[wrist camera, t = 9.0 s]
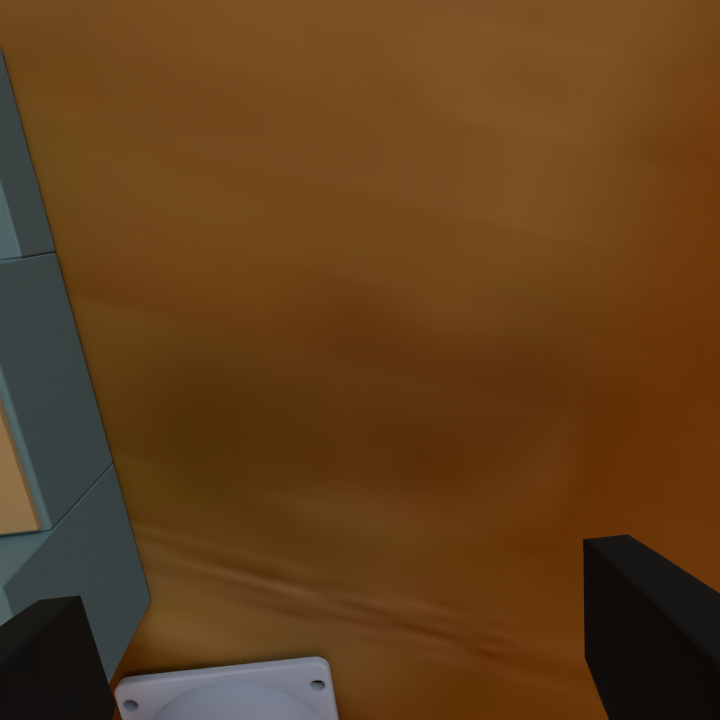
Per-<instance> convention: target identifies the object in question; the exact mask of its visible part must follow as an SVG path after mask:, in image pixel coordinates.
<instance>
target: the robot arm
mask: <svg viewBox="0 0 720 720" xmlns="http://www.w3.org/2000/svg"><path fill="white" fill-rule="evenodd" d="M583 552H584V634H585V659H586V662H587V664H588V667H589V669H590V672H591V675H592V677H593V680H594V683H595V685H596V688H597V690H598V693H599V696H600V698H601V701H602V703H603V706H604V708H605V711H606V713H607V716H608V718H609V720H720V593H718V592H717V591H715V590H713V589H712V588H710V587H709V586H707V585H706V584H704V583H703V582H701V581H700V580H698V579H696V578H695V577H693V576H692V575H690V574H689V573H687V572H686V571H684V570H683V569H681V568H680V567H678V566H677V565H675V564H673V563H672V562H670V561H669V560H667V559H666V558H664V557H663V556H661V555H660V554H658V553H656V552H655V551H653V550H652V549H650V548H649V547H647V546H645V545H644V544H642V543H641V542H639V541H637V540H636V539H634V538H632V537H631V536H629V535H619V536H610V537H601V538H591V539H583ZM315 680H320V681H322V682H320V683H318V682H314V681H315ZM114 692H115V698H116V701H117V704H118V708H119V711H120V714H121V717H122V720H339V717H338V711H337V705H336V699H335V694H334V688H333V682H332V676H331V671H330V665H329V663H328V661H326V660H325V659H324V658H322V657H315V656H314V657H305V658H296V659H287V660H277V661H268V662H259V663H250V664H240V665H231V666H222V667H213V668H204V669H194V670H185V671H176V672H167V673H157V674H148V675H139V676H130V677H125V678H123V679H121V680H120V681H119V683H118V685H117V687H116V689H115V691H114ZM130 700H132V701H134V702H132V701H130ZM115 707H116V706H115V702H114V699H113V696H112V693H111V690H110V687H109V684H108V680H107V677H106V674H105V671H104V668H103V665H102V662H101V658H100V655H99V652H98V649H97V646H96V643H95V640H94V636H93V633H92V630H91V627H90V624H89V621H88V618H87V614H86V611H85V608H84V605H83V602H82V599H81V596H80V595H78V596H69V597H60V598H51V599H42V600H38V601H37V602H35V603H34V604H32V605H30V606H29V607H27V608H26V609H24V610H23V611H21V612H20V613H18V614H17V615H15V616H14V617H12V618H11V619H10V620H8V621H7V622H5V623H4V624H2V625H1V626H0V720H112V717H113V714H114V711H115Z"/></svg>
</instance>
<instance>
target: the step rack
mask: <svg viewBox="0 0 720 720" xmlns="http://www.w3.org/2000/svg"><path fill="white" fill-rule="evenodd" d="M54 251H55V246H54V243H53V239H52V235H51V232H50V228H49V224H48V221H47V217H46V213H45V210H44V206H43V202H42V199H41V195H40V191H39V188H38V184H37V180H36V177H35V173H34V169H33V166H32V162H31V158H30V155H29V151H28V147H27V144H26V140H25V136H24V133H23V129H22V125H21V122H20V118H19V114H18V111H17V107H16V103H15V100H14V96H13V92H12V89H11V85H10V81H9V78H8V74H7V70H6V67H5V63H4V59H3V56H2V52H1V49H0V626H1V625H2V624H4V623H5V622H7V621H8V620H10V619H11V618H12V617H14V616H15V615H17V614H18V613H20V612H21V611H23V610H24V609H26V608H27V607H29V606H30V605H32V604H34V603H35V602H37V601H38V600H42V599H51V598H60V597H69V596H78V595H80V596H81V599H82V602H83V605H84V608H85V611H86V614H87V618H88V621H89V624H90V627H91V630H92V633H93V636H94V640H95V643H96V646H97V649H98V652H99V655H100V658H101V662H102V665H103V668H104V671H105V674H106V677H107V680H108V684H109V682H110V680H111V678H112V676H113V674H114V672H115V670H116V668H117V666H118V664H119V662H120V660H121V658H122V656H123V654H124V652H125V650H126V649H127V647H128V645H129V643H130V641H131V639H132V637H133V635H134V633H135V631H136V629H137V627H138V625H139V623H140V621H141V619H142V617H143V615H144V613H145V611H146V609H147V607H148V605H149V603H150V601H151V599H150V595H149V592H148V588H147V584H146V581H145V577H144V573H143V570H142V566H141V562H140V559H139V555H138V551H137V548H136V544H135V540H134V537H133V533H132V529H131V526H130V522H129V518H128V515H127V511H126V507H125V504H124V500H123V496H122V493H121V489H120V485H119V482H118V478H117V474H116V471H115V467H114V464H112V458H111V454H110V450H109V447H108V443H107V439H106V436H105V432H104V428H103V425H102V421H101V417H100V414H99V410H98V406H97V403H96V399H95V395H94V392H93V388H92V384H91V381H90V377H89V373H88V370H87V366H86V362H85V359H84V355H83V351H82V348H81V344H80V340H79V337H78V333H77V329H76V326H75V322H74V318H73V315H72V311H71V307H70V304H69V300H68V296H67V293H66V289H65V285H64V282H63V278H62V274H61V271H60V267H59V263H58V260H57V256H56V254H55V253H53V252H54Z"/></svg>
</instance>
